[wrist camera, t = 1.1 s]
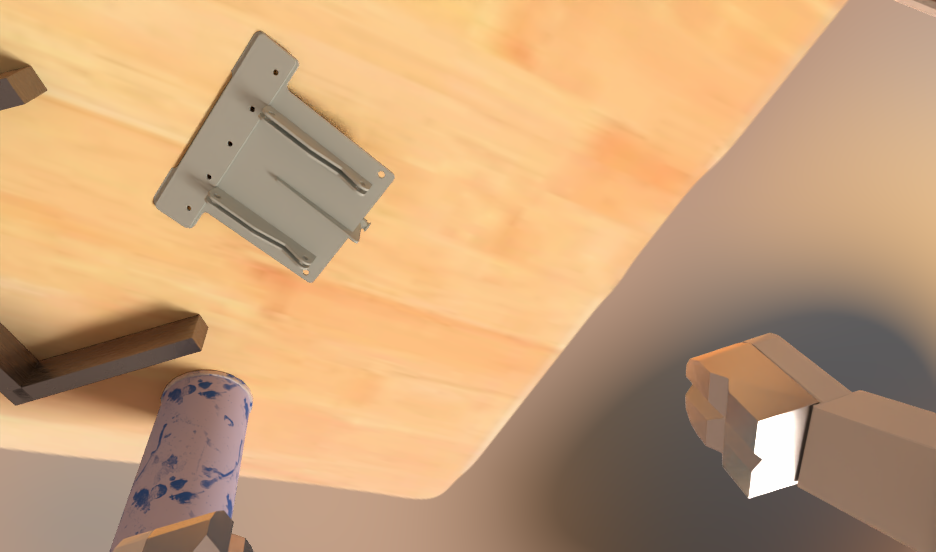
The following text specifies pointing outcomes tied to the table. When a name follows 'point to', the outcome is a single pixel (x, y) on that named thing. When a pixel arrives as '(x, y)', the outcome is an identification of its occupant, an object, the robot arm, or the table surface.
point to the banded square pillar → (921, 5)
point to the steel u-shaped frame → (27, 379)
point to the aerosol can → (190, 453)
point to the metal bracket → (274, 168)
